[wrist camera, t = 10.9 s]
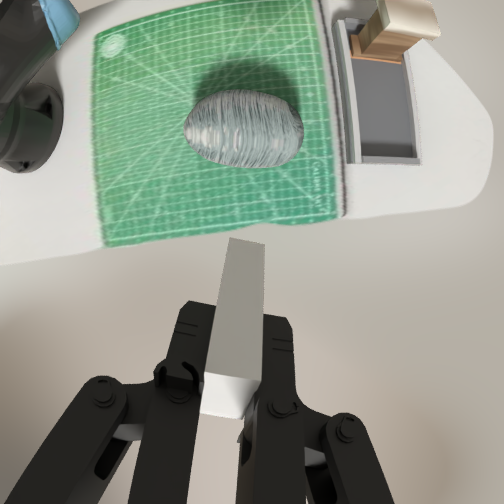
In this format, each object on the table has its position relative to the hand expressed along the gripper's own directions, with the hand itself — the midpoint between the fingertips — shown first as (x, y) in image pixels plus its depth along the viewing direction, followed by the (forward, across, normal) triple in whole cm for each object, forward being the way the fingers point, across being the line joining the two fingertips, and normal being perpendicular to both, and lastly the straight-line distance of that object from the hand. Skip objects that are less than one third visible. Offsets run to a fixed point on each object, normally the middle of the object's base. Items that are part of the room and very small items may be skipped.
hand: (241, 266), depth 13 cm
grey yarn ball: (+28, -1, -1) cm, 28 cm away
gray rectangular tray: (+31, +14, +10) cm, 35 cm away
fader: (+30, +12, +16) cm, 36 cm away
